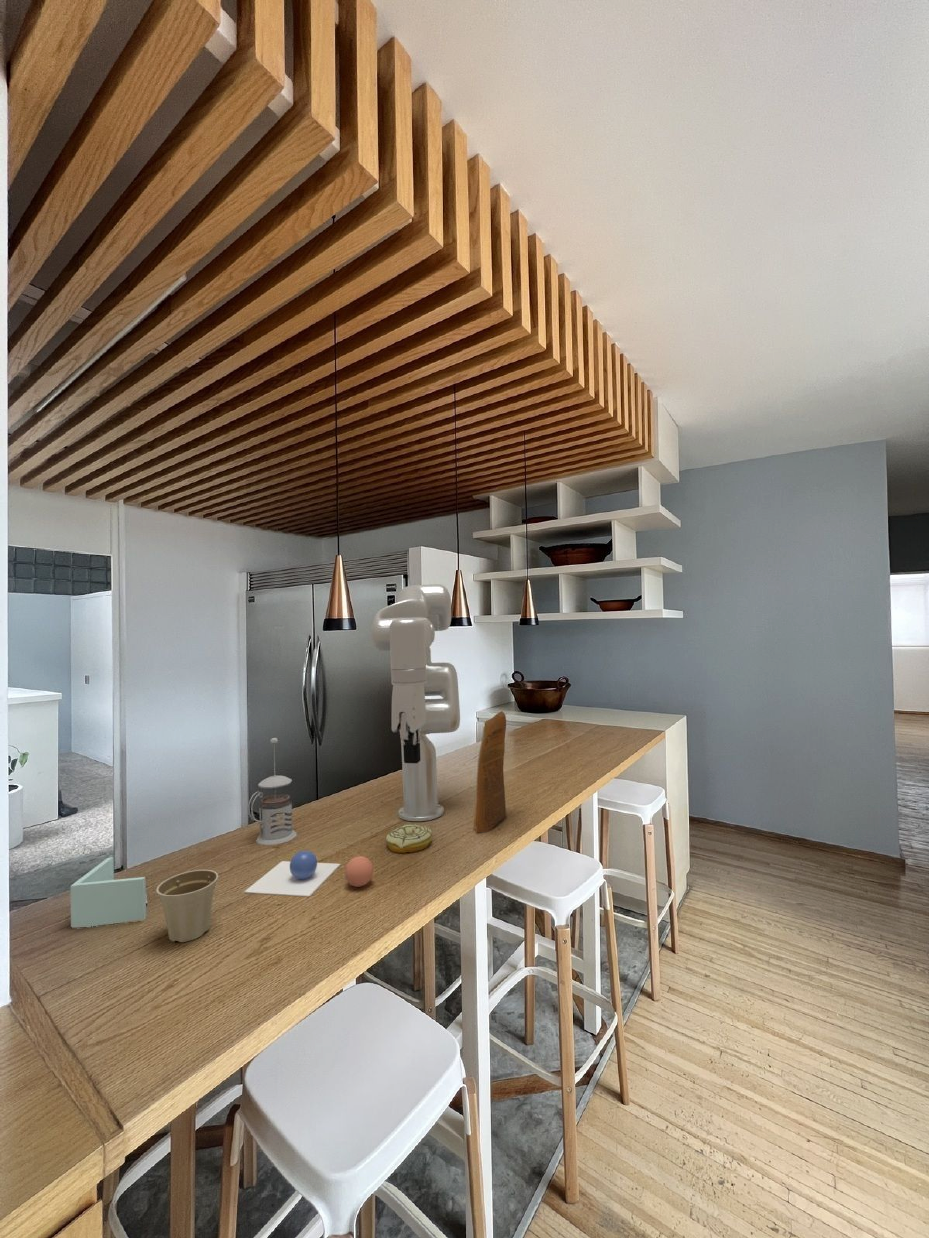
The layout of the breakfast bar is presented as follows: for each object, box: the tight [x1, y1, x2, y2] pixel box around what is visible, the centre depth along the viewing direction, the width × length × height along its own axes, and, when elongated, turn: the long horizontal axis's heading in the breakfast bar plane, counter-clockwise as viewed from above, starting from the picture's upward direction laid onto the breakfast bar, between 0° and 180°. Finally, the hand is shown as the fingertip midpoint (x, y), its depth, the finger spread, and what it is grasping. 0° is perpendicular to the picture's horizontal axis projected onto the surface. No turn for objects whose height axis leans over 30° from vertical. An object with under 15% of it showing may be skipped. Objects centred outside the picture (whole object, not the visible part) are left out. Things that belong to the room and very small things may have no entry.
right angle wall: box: [70, 856, 148, 928], centre depth 99 cm, size 12×12×8 cm
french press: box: [247, 737, 298, 846], centre depth 131 cm, size 10×12×25 cm
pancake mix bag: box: [473, 710, 507, 834], centre depth 136 cm, size 7×19×28 cm, turn 153°
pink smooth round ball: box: [344, 855, 374, 888], centre depth 104 cm, size 6×6×6 cm
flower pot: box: [155, 869, 219, 943], centre depth 89 cm, size 9×9×9 cm
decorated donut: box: [385, 823, 433, 854], centre depth 123 cm, size 10×11×4 cm
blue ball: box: [289, 850, 318, 880], centre depth 108 cm, size 6×6×6 cm
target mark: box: [243, 860, 341, 898], centre depth 108 cm, size 14×14×1 cm
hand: (412, 761), depth 111 cm, fingers closed
